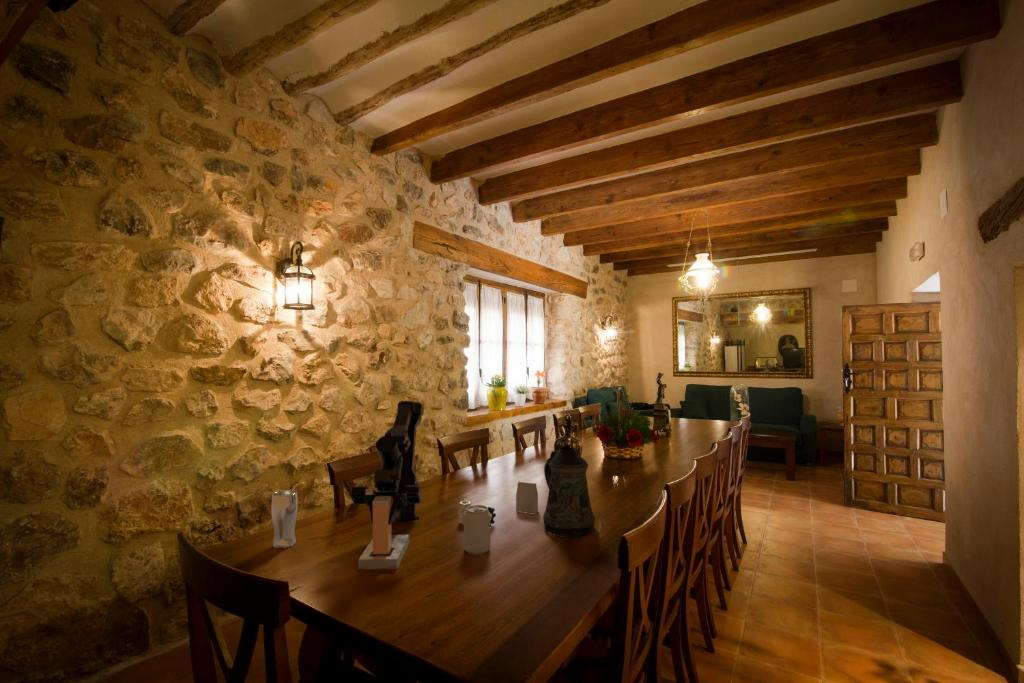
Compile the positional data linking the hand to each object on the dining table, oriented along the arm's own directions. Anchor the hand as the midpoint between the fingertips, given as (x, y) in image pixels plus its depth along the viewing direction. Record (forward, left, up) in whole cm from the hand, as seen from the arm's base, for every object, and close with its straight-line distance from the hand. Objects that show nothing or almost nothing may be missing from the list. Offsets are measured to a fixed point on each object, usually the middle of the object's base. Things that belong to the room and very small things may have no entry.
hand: (380, 524), depth 128 cm
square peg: (-1, +1, -8) cm, 8 cm away
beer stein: (+5, +58, -11) cm, 59 cm away
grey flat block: (-4, +3, -10) cm, 12 cm away
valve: (-12, +34, -11) cm, 38 cm away
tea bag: (-14, +56, -11) cm, 58 cm away
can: (+6, +26, -11) cm, 28 cm away
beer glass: (-27, -20, -11) cm, 36 cm away
